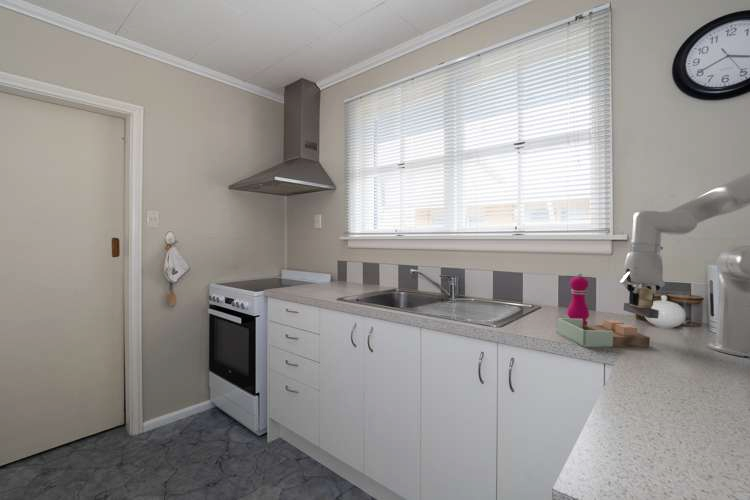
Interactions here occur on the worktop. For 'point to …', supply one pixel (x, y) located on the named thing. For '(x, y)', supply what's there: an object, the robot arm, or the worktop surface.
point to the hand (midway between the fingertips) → (640, 304)
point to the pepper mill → (578, 299)
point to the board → (622, 337)
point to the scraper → (643, 304)
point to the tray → (583, 333)
